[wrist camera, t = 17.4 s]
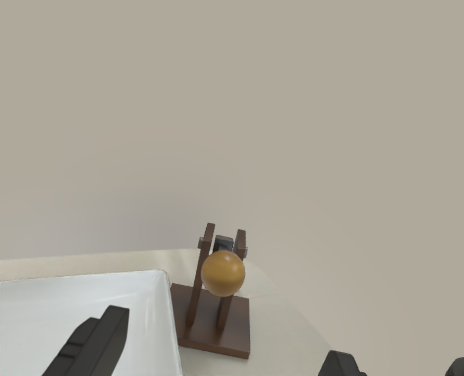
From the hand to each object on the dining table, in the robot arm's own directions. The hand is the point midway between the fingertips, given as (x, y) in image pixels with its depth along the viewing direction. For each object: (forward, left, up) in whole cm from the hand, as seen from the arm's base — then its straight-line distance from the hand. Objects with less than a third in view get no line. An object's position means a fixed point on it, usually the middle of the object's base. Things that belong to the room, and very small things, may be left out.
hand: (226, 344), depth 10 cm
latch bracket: (0, -20, -21) cm, 29 cm away
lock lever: (0, -14, -8) cm, 17 cm away
